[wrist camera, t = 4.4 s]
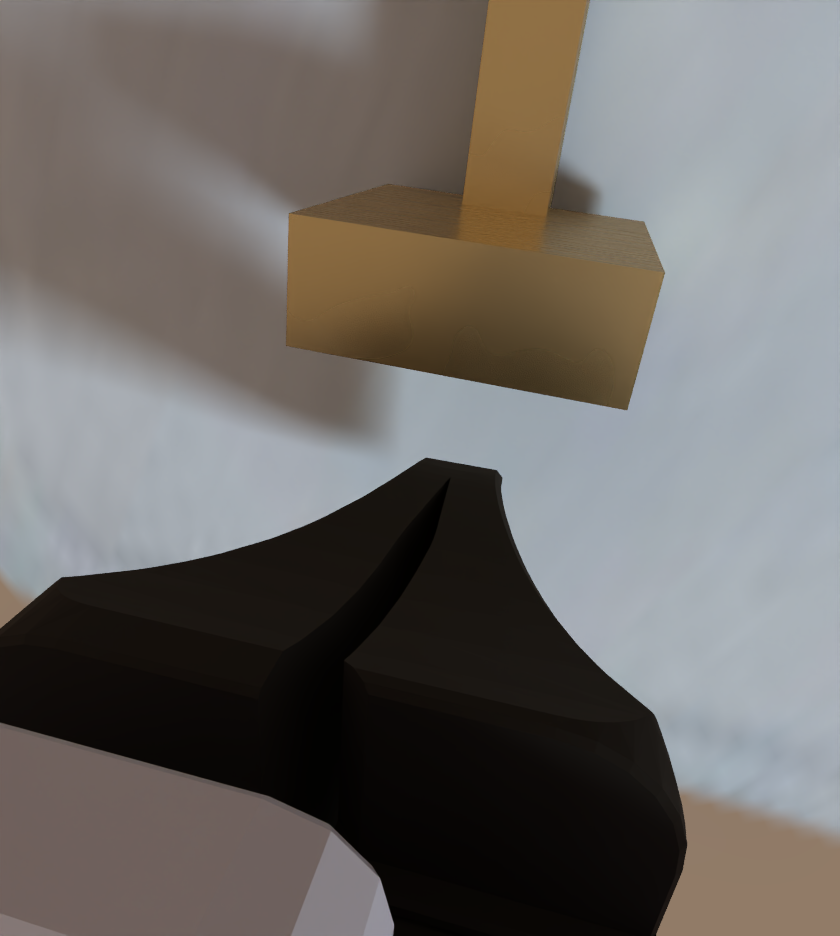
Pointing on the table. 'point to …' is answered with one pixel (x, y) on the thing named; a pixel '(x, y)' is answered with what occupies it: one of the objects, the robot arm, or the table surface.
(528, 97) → the tan block with bar
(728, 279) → the table surface
